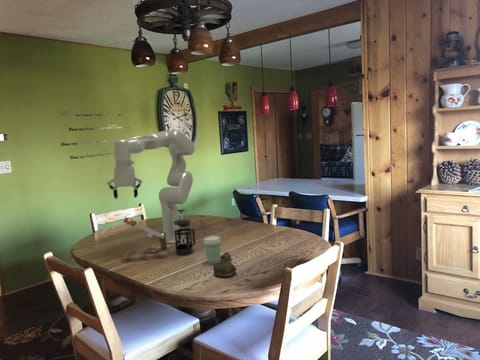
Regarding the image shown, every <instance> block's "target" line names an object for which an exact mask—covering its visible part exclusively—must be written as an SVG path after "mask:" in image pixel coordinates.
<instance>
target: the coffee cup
mask: <svg viewBox="0 0 480 360" xmlns="http://www.w3.org/2000/svg"><path fill="white" fill-rule="evenodd" d="M221 243H222V240H221V237H220V236H218V235H210V236H206V237H204V238H203V242H202V244H203V245H204V251H205V256H206V262H207V264H208V265H214V264H215V263H219V262H220V261H221V259H220V257H221Z"/></svg>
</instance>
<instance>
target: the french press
mask: <svg viewBox="0 0 480 360" xmlns="http://www.w3.org/2000/svg"><path fill="white" fill-rule="evenodd" d="M179 212H180V214H181V218H182V219H179V220H177V221H174V222H173V223H174V224H175V225H178V226H179V227H180V229H177V230H175V231H174V234H175V255H176V256H188V255H192V254H193V253H194V249H193V248H194V246H195V245H196V238H195V236H196V234H195V233H196V232H195V228H187V227H189V226H191V222H192V221H191V219H188V218H187V219H183V212H186V209H178V213H179ZM176 232H178V233H176ZM177 235H178V240H177ZM181 235H183V239H181ZM184 235H186V236H184Z"/></svg>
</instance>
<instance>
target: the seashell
mask: <svg viewBox="0 0 480 360" xmlns="http://www.w3.org/2000/svg"><path fill="white" fill-rule="evenodd" d="M212 270H213V274H214V275H215V276H217V277H219V278H227V277H231V276H233V275H234V274H235V272H236V271H237V268H236V266H235V265H234V264H233V261H232V256H231V253H229V252H228V251H226V252H225V253H223V254H222V255H220V262H219V263H215V264H213V269H212Z"/></svg>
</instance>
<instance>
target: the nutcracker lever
mask: <svg viewBox="0 0 480 360" xmlns="http://www.w3.org/2000/svg"><path fill="white" fill-rule="evenodd" d="M123 223H125V224H127V225H129V226H131V227H133V228H134V227H136V228H138V229H140V230H142V231H145V232H146V233H147V232H148V233H147V237H149V238H151V239H152V238H153V236H156V237H159V239H160V238H161V239H164V238H165V234H164V232H159V231H157V230H154V229H152V228H150V227H147V226H145V225H143V224H141V223H138V222H137V221H136V220H135V219H132V218H129V217H127V216H125V217H124V220H123ZM161 233H162V234H161Z"/></svg>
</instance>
